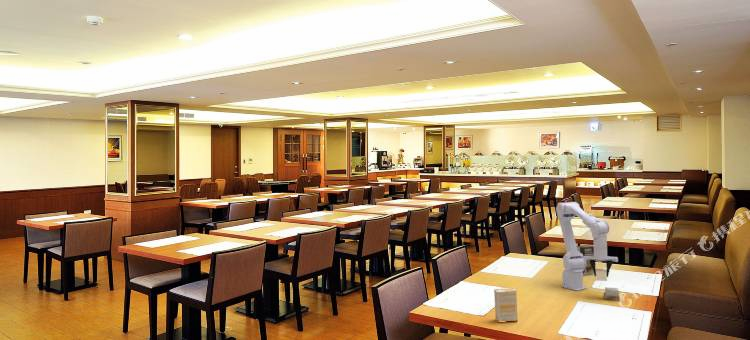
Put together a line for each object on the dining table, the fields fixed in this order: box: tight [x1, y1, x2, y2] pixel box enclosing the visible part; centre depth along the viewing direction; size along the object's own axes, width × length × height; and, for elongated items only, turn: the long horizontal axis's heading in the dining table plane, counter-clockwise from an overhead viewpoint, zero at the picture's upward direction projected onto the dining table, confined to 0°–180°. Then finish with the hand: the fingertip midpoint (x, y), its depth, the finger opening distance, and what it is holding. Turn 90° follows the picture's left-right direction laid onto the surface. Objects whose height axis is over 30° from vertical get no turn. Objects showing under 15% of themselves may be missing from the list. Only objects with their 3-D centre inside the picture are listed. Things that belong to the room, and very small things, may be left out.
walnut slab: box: [602, 291, 621, 302], centre depth 230 cm, size 6×6×2 cm
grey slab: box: [604, 287, 620, 297], centre depth 230 cm, size 6×6×2 cm
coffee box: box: [573, 244, 594, 276], centre depth 279 cm, size 9×6×16 cm
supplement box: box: [493, 287, 518, 322], centre depth 204 cm, size 8×5×13 cm, turn 92°
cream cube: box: [595, 268, 608, 282], centre depth 231 cm, size 4×4×4 cm
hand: (601, 276), depth 231 cm, fingers closed on cream cube, 4 cm apart
